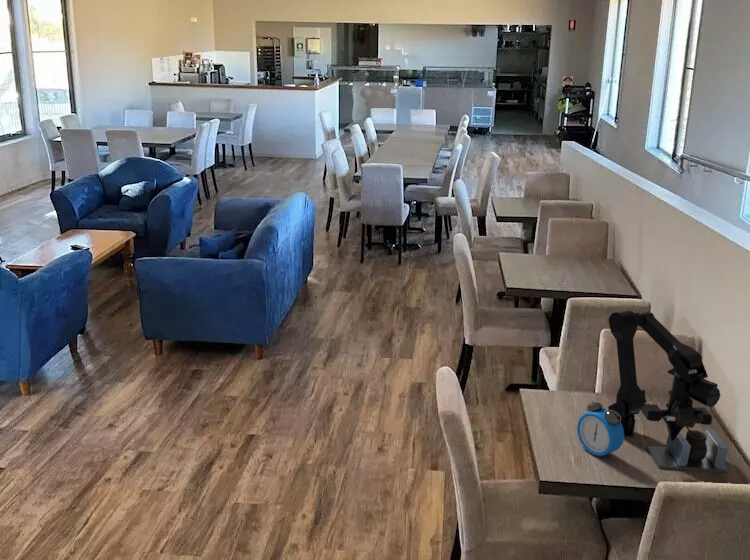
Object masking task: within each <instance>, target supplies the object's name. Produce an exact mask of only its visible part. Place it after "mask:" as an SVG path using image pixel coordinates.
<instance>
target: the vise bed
mask: <svg viewBox="0 0 750 560" xmlns="http://www.w3.org/2000/svg"><path fill="white" fill-rule="evenodd" d="M704 433H705V434H706V436H707V438H706V446H707V454H706V456H705V458H704V459H703V460H701V461H698V462H694V461H690V460H688V462H687V464H686V466H679V465H678V464H677V462H676V461H675V459H674V458H673V456H672V455H671V453H670V452H669V450H668V449H667V447H666V446H653V445H650V446H649V445H646V450H647V452H648V454H649V456H650V457H651V459H652V460H653V462H654V464H655V465H656V466H657V468H658V469H664V470H665V469H666V470H677V471H679V470H681V471H694V472H708V473H709V472H710V473H713V472H714V473H728V471H729V470H728V468H727V467H726V465H725V464H726V460H727V454H728V451H729V447H728V446H727V445H726V444H725V442H724V441H723V440H722V439H721V438H720V436H719V435H718V434H717V432H716V431H715V430H714V429H712V428H711V429H709V428H705V430H704Z"/></svg>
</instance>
